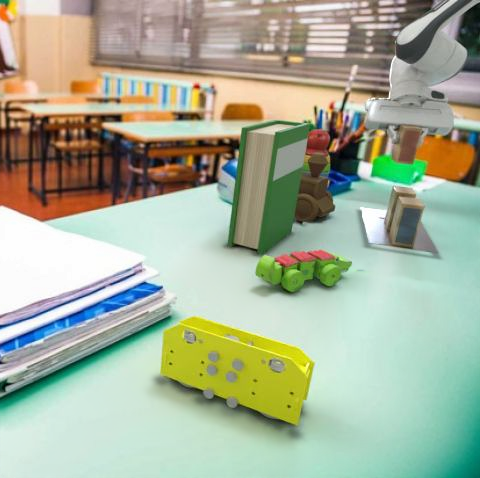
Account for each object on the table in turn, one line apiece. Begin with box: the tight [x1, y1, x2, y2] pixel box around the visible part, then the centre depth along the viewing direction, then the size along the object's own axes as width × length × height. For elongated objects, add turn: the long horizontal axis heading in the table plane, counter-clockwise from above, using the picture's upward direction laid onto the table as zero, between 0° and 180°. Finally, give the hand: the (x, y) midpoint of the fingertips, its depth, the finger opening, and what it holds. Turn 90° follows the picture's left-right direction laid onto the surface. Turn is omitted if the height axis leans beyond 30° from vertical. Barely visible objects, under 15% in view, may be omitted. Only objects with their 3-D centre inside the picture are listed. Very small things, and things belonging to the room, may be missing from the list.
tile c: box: [390, 125, 423, 166], centre depth 125 cm, size 4×6×9 cm, turn 164°
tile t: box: [389, 196, 425, 248], centre depth 103 cm, size 4×6×9 cm, turn 158°
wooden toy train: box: [294, 153, 336, 223], centre depth 121 cm, size 20×11×17 cm, turn 47°
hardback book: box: [226, 119, 311, 256], centre depth 102 cm, size 18×7×24 cm, turn 143°
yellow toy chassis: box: [159, 315, 315, 426], centre depth 56 cm, size 16×6×8 cm, turn 60°
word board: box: [360, 207, 439, 254], centre depth 114 cm, size 13×28×1 cm, turn 159°
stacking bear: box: [302, 128, 331, 178], centre depth 143 cm, size 11×10×18 cm
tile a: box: [384, 185, 417, 230], centre depth 112 cm, size 4×6×9 cm, turn 159°
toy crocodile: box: [254, 249, 353, 293], centre depth 85 cm, size 20×7×6 cm, turn 111°
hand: (407, 143), depth 125 cm, fingers closed on tile c, 4 cm apart
